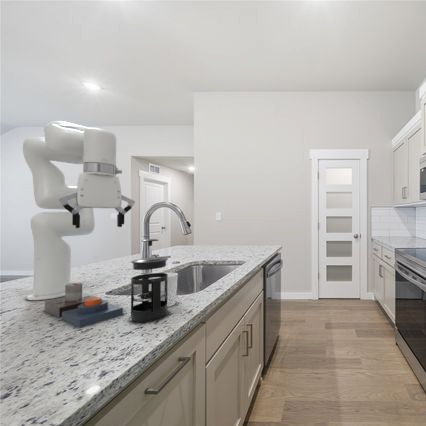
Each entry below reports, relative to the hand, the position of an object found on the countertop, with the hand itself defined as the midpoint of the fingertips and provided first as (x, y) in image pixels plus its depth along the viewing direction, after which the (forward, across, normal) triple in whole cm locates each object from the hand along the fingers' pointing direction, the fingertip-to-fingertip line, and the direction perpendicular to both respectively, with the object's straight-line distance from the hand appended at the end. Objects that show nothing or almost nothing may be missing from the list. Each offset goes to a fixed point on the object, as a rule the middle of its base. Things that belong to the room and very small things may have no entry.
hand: (99, 227), depth 76 cm
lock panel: (+26, +5, -13) cm, 30 cm away
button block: (+26, +1, +1) cm, 27 cm away
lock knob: (+23, +5, -13) cm, 27 cm away
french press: (+27, -10, +13) cm, 31 cm away
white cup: (+27, -16, +5) cm, 32 cm away
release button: (+23, +1, +1) cm, 23 cm away
